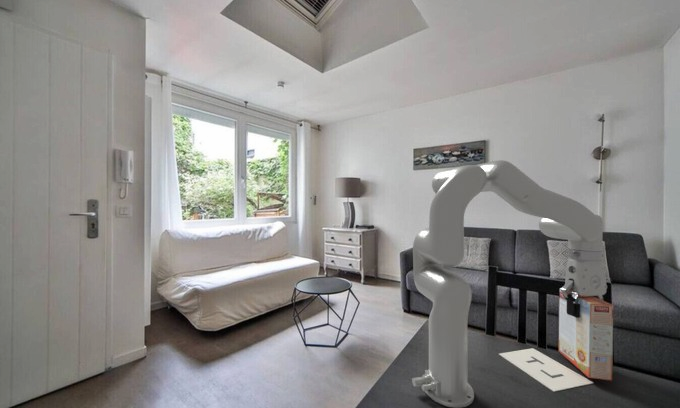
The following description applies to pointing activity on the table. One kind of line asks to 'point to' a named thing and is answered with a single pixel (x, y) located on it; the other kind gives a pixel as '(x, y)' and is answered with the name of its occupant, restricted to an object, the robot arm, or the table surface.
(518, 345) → the table surface
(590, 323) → the cracker box
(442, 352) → the robot arm
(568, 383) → the tile
